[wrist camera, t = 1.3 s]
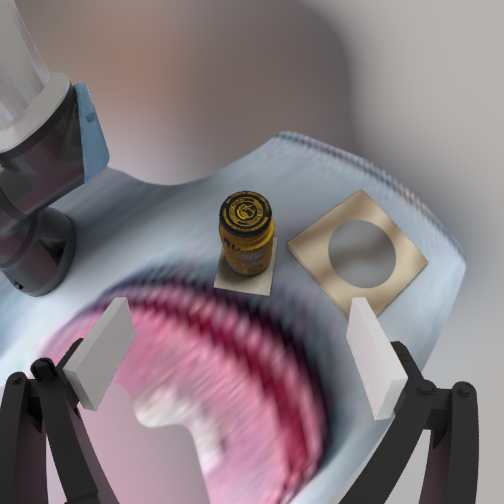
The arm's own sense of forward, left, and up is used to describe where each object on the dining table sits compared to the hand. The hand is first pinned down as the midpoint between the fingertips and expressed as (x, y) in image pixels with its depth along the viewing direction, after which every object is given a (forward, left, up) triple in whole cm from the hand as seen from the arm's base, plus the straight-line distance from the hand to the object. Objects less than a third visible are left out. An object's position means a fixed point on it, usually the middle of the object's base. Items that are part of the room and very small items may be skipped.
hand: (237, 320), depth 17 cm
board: (0, +20, -21) cm, 29 cm away
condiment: (-9, +7, -21) cm, 24 cm away
